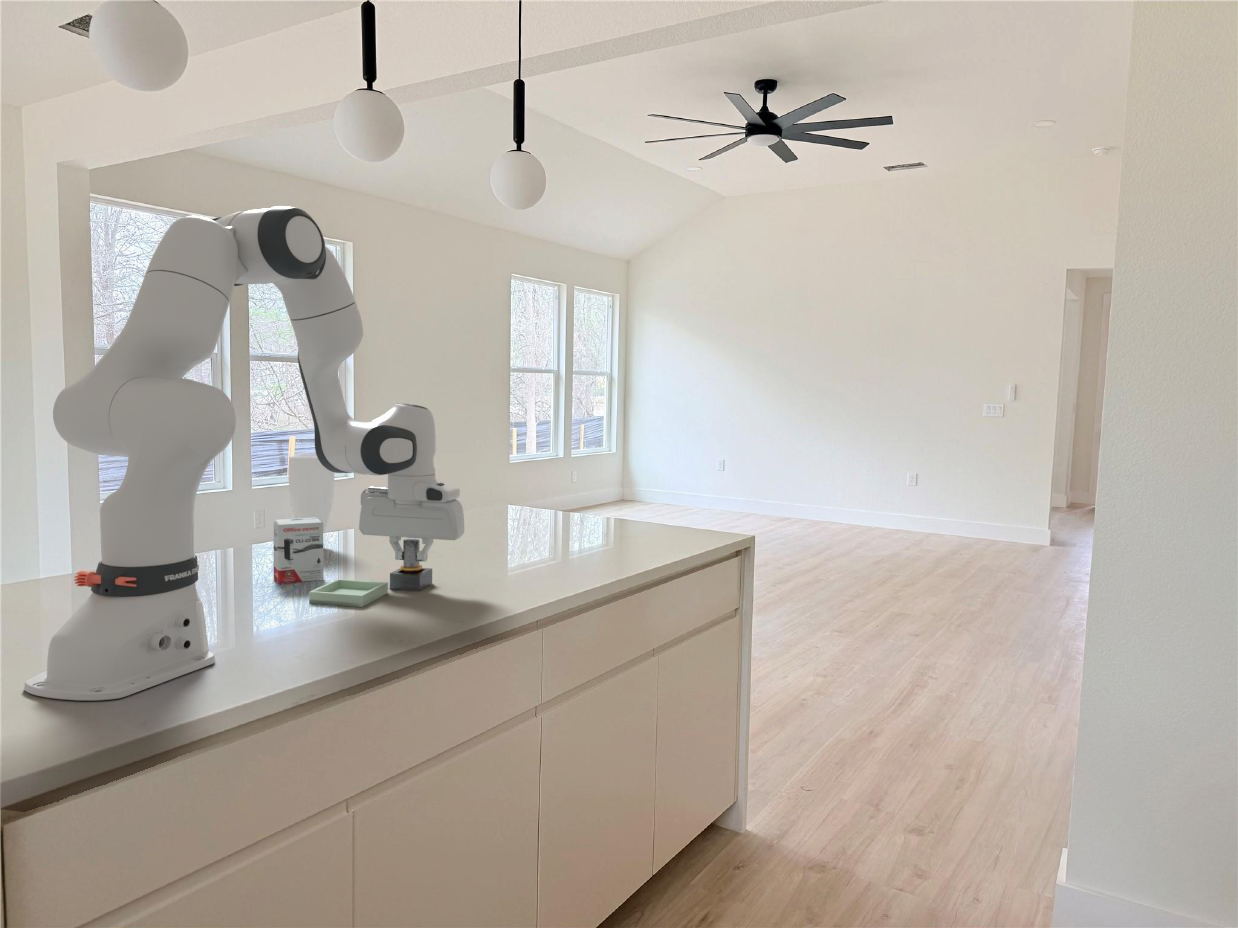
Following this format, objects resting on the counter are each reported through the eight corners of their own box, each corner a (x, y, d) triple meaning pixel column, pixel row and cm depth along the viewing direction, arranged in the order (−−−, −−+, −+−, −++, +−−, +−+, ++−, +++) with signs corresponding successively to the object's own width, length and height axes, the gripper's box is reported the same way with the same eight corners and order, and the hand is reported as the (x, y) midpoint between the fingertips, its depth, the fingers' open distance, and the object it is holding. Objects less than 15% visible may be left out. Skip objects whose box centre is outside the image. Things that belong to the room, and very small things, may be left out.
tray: (362, 606, 143) (362, 595, 143) (309, 602, 145) (309, 591, 144) (387, 592, 153) (387, 582, 152) (337, 589, 154) (337, 578, 154)
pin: (416, 589, 156) (417, 542, 155) (397, 587, 157) (397, 541, 156) (425, 584, 160) (425, 538, 159) (406, 583, 161) (406, 537, 160)
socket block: (419, 590, 155) (419, 575, 154) (389, 588, 156) (389, 573, 155) (432, 583, 161) (432, 568, 160) (403, 581, 162) (403, 566, 161)
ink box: (278, 584, 157) (277, 523, 156) (273, 579, 161) (272, 519, 160) (324, 579, 161) (324, 520, 160) (318, 574, 165) (317, 516, 164)
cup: (317, 553, 185) (316, 458, 183) (278, 549, 188) (277, 456, 186) (345, 545, 195) (344, 455, 193) (307, 541, 198) (306, 452, 196)
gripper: (352, 488, 155) (353, 560, 156) (455, 493, 152) (455, 566, 153) (368, 484, 161) (368, 553, 163) (467, 489, 158) (467, 560, 159)
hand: (411, 560), depth 158 cm, fingers closed on pin, 3 cm apart
